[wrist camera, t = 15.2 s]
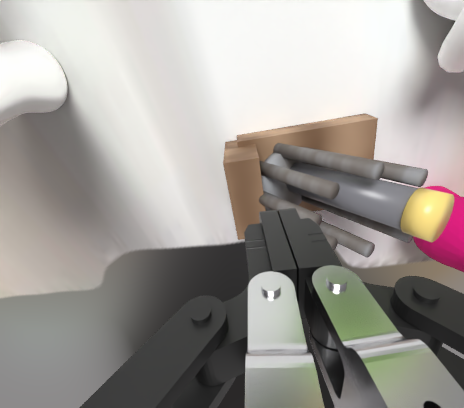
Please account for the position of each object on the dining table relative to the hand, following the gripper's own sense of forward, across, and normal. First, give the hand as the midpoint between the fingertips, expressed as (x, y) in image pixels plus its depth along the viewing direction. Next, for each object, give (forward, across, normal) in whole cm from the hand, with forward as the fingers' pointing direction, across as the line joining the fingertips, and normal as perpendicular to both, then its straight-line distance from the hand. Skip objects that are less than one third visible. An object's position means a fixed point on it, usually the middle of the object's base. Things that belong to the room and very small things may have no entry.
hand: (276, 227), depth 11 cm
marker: (+14, -4, +4) cm, 15 cm away
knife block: (+18, -5, +4) cm, 19 cm away
